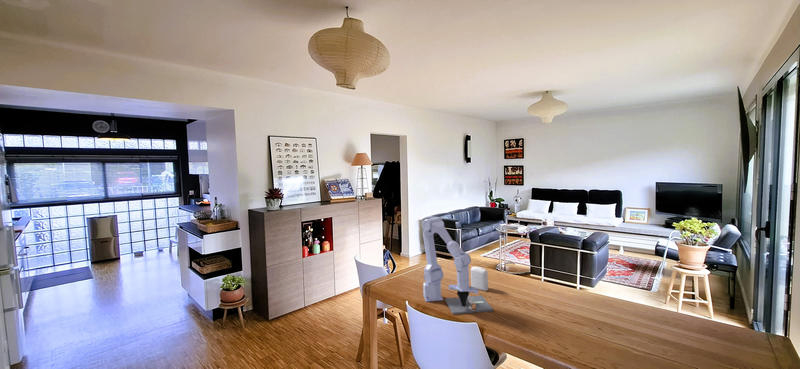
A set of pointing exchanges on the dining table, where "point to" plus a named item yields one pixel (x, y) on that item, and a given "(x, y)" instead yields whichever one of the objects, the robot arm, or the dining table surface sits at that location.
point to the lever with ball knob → (471, 302)
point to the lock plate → (459, 309)
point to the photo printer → (479, 278)
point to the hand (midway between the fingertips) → (463, 305)
